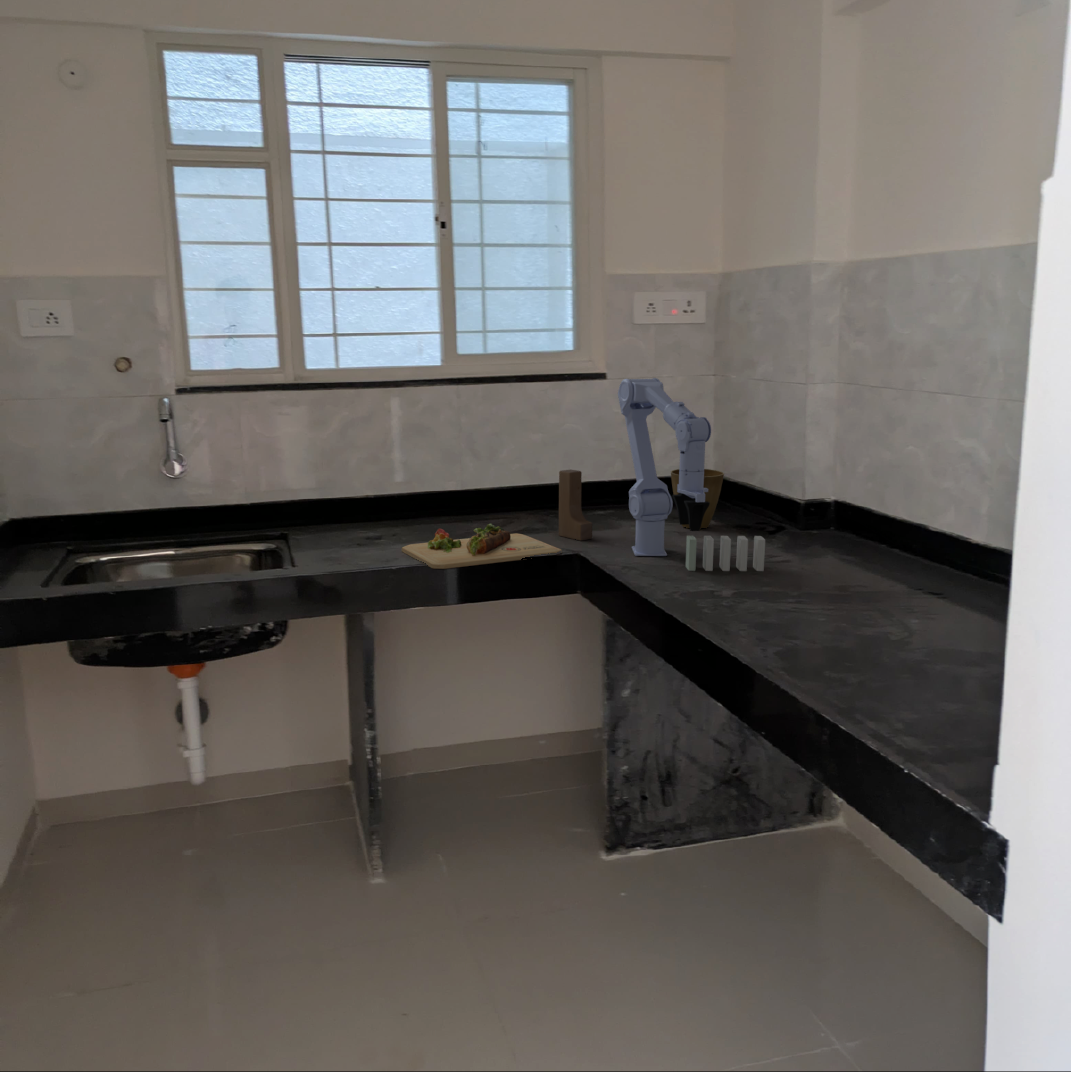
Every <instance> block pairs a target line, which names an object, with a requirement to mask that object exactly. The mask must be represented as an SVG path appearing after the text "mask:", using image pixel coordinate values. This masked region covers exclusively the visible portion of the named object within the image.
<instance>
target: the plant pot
mask: <svg viewBox="0 0 1071 1072" xmlns="http://www.w3.org/2000/svg"><path fill="white" fill-rule="evenodd" d="M724 475H725V473H724V472H723V471H720V470H716V469H711V468H704V486H703V488H707V489H708V492H704V493H705V501H708V502H710V505H709V507H708V508H707V510H706V512H705V514H704V517H703V520H702V524H701V527H700V530H702V529H701V528H706V529H708V528H709V526H710V524H711V521H712V519H713V516H714V514H715V511H716V508H717V506H718V505H717V504H718V502H719V498H720V496H721V491H722V485H723V481H724V477H725V476H724ZM670 479H671V485H672V492H673V495H678V492H677V484H679V468H678V469H673V470H671V471H670ZM675 508H676V509H677V507H676V506H675ZM682 526H683V527H682ZM681 527H682V528H684V527H686V528H685V529H687V528H689V524H687V525H681ZM707 527H708V528H707Z"/></svg>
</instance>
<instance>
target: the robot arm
mask: <svg viewBox="0 0 1071 1072" xmlns="http://www.w3.org/2000/svg"><path fill="white" fill-rule="evenodd" d="M664 389H665V388H664V383H663V382H662V381H661V380H660V379H659V378H657V377H653V378H623V379H622V380H621V382H620V383H619V386H618V390H617V399H618V401H619V402H618V403H619V408H620V412H621V415H623V416H624V421H625V426H626V431H627V437H628V442H629V447H630V452H631V459H632V462H633V463H632V465H633V468H634V474H635V480H636V482H635V483H634V484H633V486H631V488H630V489H629V491H628V497H629V499H628V508H629V509H628V510H629V512H630V515H632V517H633V519H635V544H634V545H633V546H631V549H632V552H633V554H634V556H635V557H666V556H668V554H667V552H666V550H665V523H666V520H667V519H668V516H669V515H670V514H671V513H672V511H673V504H675V508H676V507H677V508H676V511H677V517H678V521H679V525H681V526H682V525H687V524H689V528H690V529H689V531H690V532H700V531H701V529H700V527H701V524H702V520H703V517H704V514H705V512H706V510H707V508H708V507H709V505H710V502H708V501H705V493H704V492H708V489H707V488H703V486H704V469H705V464H706V463H705V458H706V443H707V442H708V441H709V440H710V438H711V435H712V427H711V423H710V420H708V419H707V417H704V416H703V417H702V416H700V417H699V416H696V415H695V413H694V412H693V411H691V410H690V409H689V408H688V407H687V406H686V404H685V403H684V401H673V400H672V398H671V397H670V396H669V395H668V394H667V392H666V391H665V390H664ZM655 409H658V410H659V411H660V412H661V413H663V414H662V417H663V420H664V422H665V423H667V424H668V426H670V428H672V429H673V431H675V437H676V440H677V448H678V451H679V467H678V469H679V484H677V492H678V495H674V494H672V495H671V494H670V491H669V490H668V488H669V487H668V485H667V484H666V483H665V482H664V481H662V480H660V479H659V478H658V476H657V470H656V465H655V460H654V453H653V449H652V444H651V443H652V442H651V438H650V433H649V427H648V423H647V417H648V416H650V415H652V414H653V413H654V411H655ZM673 501H674V502H673Z"/></svg>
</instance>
